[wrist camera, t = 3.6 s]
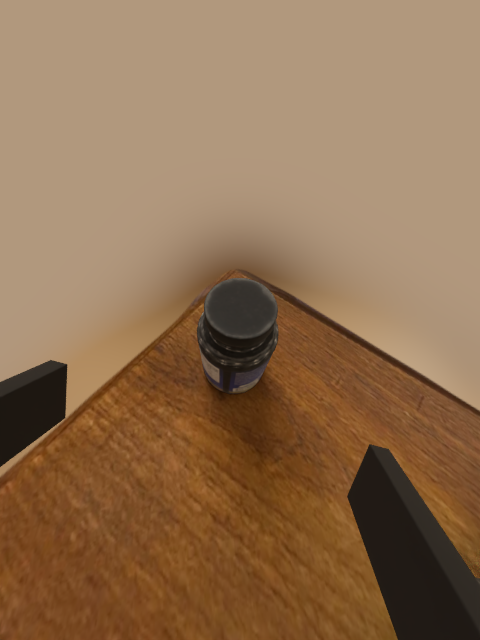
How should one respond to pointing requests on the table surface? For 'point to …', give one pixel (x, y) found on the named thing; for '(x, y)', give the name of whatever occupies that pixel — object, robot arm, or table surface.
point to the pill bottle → (237, 334)
